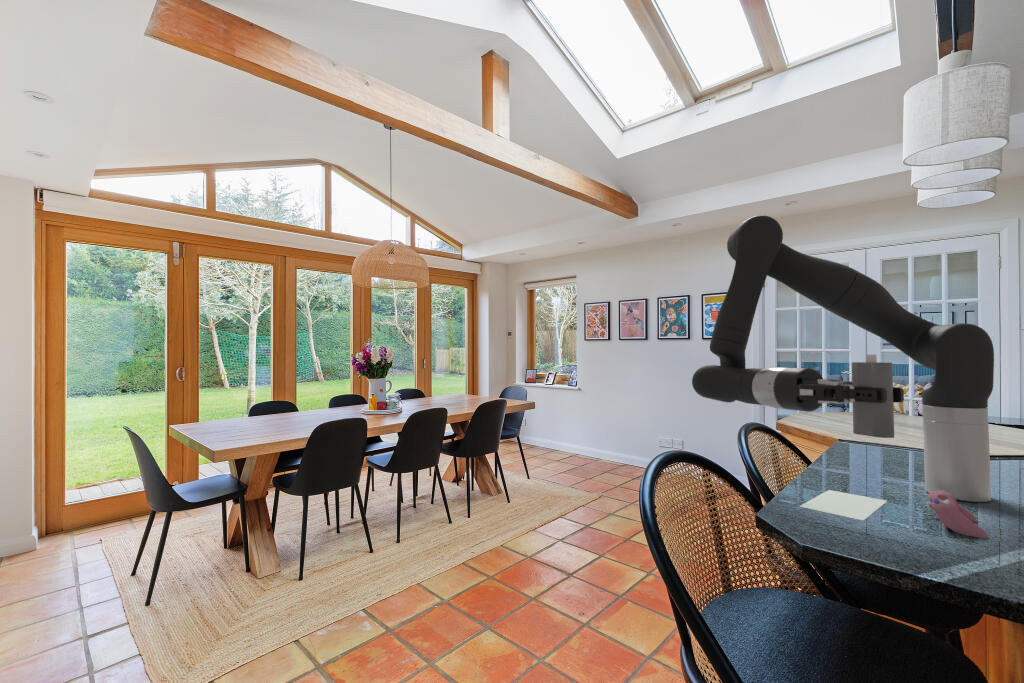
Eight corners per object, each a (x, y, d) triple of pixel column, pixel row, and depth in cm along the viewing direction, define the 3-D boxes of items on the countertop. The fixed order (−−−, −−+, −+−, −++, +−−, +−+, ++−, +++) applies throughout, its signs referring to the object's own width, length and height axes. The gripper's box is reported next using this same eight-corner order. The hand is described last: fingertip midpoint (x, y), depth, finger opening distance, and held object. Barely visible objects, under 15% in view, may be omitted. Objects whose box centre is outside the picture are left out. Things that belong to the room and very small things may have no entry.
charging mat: (828, 495, 89) (828, 489, 89) (887, 506, 82) (887, 500, 82) (799, 512, 79) (798, 506, 79) (863, 526, 72) (863, 520, 72)
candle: (848, 432, 72) (846, 354, 72) (862, 431, 73) (860, 354, 73) (885, 438, 67) (882, 354, 67) (899, 437, 68) (897, 354, 68)
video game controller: (944, 531, 75) (917, 489, 77) (980, 524, 72) (951, 480, 74) (952, 551, 67) (922, 503, 69) (992, 543, 64) (959, 494, 67)
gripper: (757, 367, 81) (860, 369, 65) (814, 367, 86) (923, 369, 70) (758, 410, 81) (862, 423, 65) (815, 407, 86) (925, 419, 69)
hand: (893, 395), depth 67 cm, fingers closed on candle, 3 cm apart
